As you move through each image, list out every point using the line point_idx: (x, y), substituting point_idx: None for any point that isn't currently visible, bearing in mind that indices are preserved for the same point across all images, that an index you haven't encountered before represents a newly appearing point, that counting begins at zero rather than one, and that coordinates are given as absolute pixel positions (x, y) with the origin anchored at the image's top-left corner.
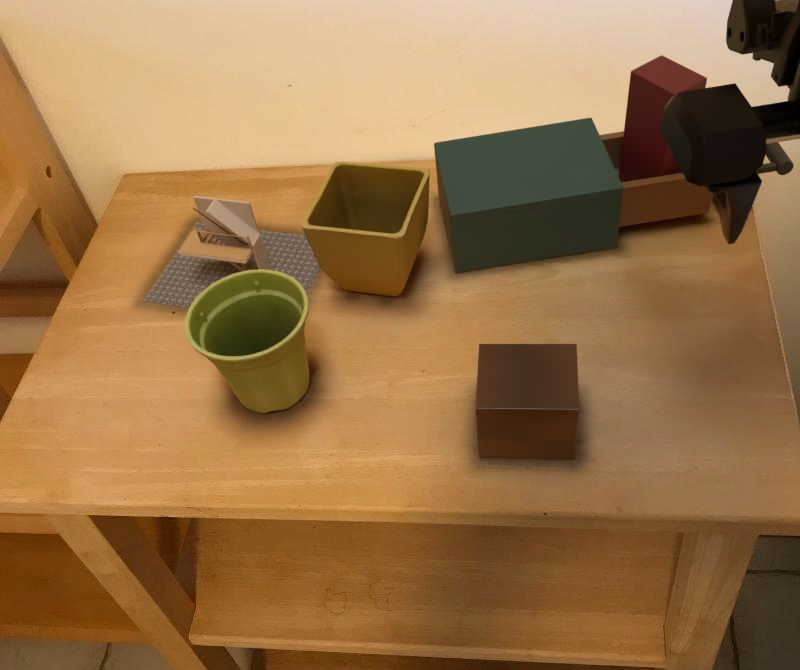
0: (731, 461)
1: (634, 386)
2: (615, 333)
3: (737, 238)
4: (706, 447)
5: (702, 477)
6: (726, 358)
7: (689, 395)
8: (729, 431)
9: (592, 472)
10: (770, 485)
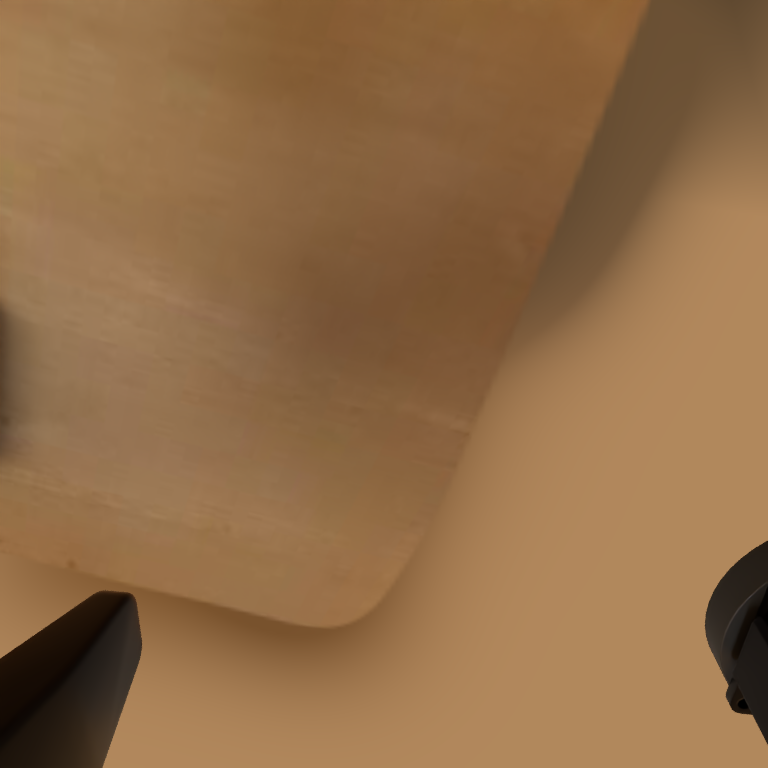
0: (297, 532)
1: (149, 314)
2: (132, 118)
3: (119, 713)
4: (261, 495)
5: (233, 547)
6: (395, 290)
7: (268, 371)
8: (319, 475)
9: (30, 490)
10: (346, 588)
